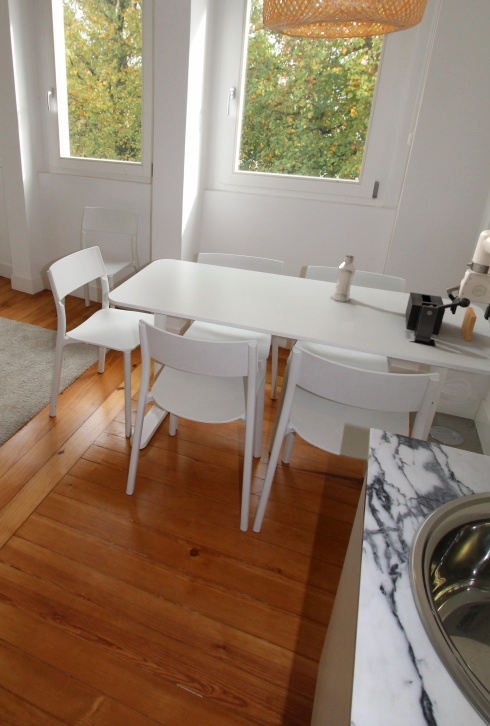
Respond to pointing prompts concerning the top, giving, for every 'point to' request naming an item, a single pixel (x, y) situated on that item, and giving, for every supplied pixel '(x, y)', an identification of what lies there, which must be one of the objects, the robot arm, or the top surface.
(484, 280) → the robot arm
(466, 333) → the toast
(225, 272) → the top surface
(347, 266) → the plastic bottle
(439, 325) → the toaster
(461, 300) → the toaster lever
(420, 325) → the lever bracket
